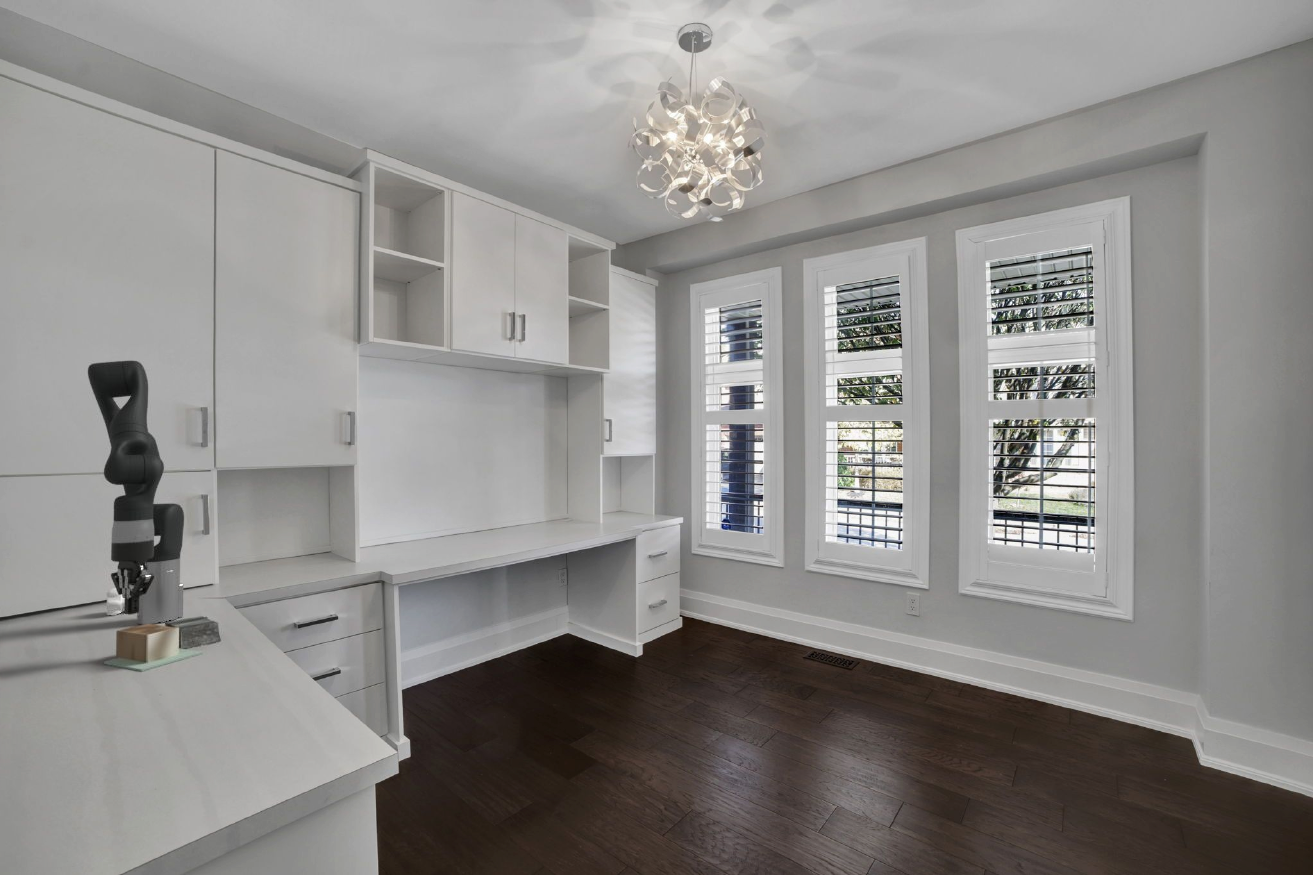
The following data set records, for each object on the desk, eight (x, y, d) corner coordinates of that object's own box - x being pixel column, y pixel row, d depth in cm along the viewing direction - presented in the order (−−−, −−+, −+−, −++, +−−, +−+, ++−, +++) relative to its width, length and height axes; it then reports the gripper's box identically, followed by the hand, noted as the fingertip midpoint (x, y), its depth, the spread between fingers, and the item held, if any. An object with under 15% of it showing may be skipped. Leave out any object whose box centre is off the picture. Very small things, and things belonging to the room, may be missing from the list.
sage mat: (165, 647, 143) (165, 645, 143) (202, 653, 138) (202, 652, 138) (103, 663, 132) (103, 661, 132) (141, 671, 126) (141, 669, 126)
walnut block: (147, 623, 141) (179, 627, 136) (146, 649, 141) (178, 654, 136) (116, 630, 135) (148, 635, 131) (115, 657, 135) (147, 662, 130)
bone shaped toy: (105, 620, 171) (105, 592, 171) (109, 611, 178) (109, 585, 178) (171, 611, 180) (172, 585, 180) (173, 603, 187) (173, 578, 187)
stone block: (207, 632, 156) (207, 612, 156) (224, 642, 147) (225, 621, 148) (164, 640, 149) (164, 619, 149) (179, 651, 140) (180, 629, 141)
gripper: (168, 538, 139) (167, 611, 139) (135, 536, 144) (134, 607, 144) (130, 542, 132) (129, 620, 132) (97, 540, 137) (95, 615, 137)
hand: (131, 613), depth 138 cm, fingers closed
